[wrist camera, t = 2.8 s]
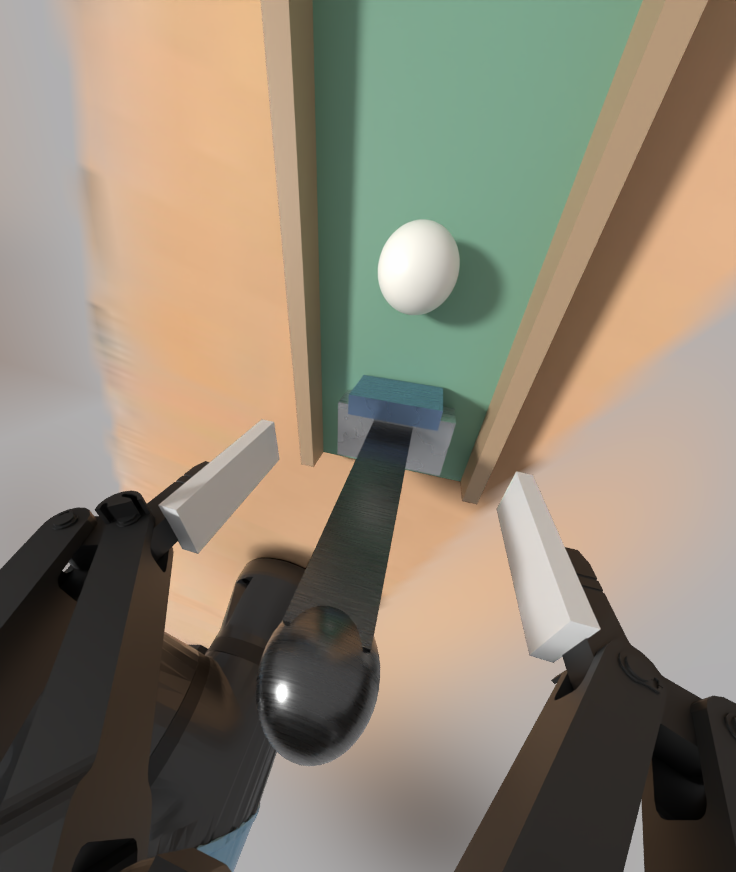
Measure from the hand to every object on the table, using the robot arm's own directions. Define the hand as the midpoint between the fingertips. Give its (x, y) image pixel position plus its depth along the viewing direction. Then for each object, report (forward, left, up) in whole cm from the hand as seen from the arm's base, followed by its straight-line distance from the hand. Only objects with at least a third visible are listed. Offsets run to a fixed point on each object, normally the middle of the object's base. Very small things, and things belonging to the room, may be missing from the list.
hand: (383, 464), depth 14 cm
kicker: (0, 0, -4) cm, 4 cm away
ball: (+9, 0, -3) cm, 9 cm away
